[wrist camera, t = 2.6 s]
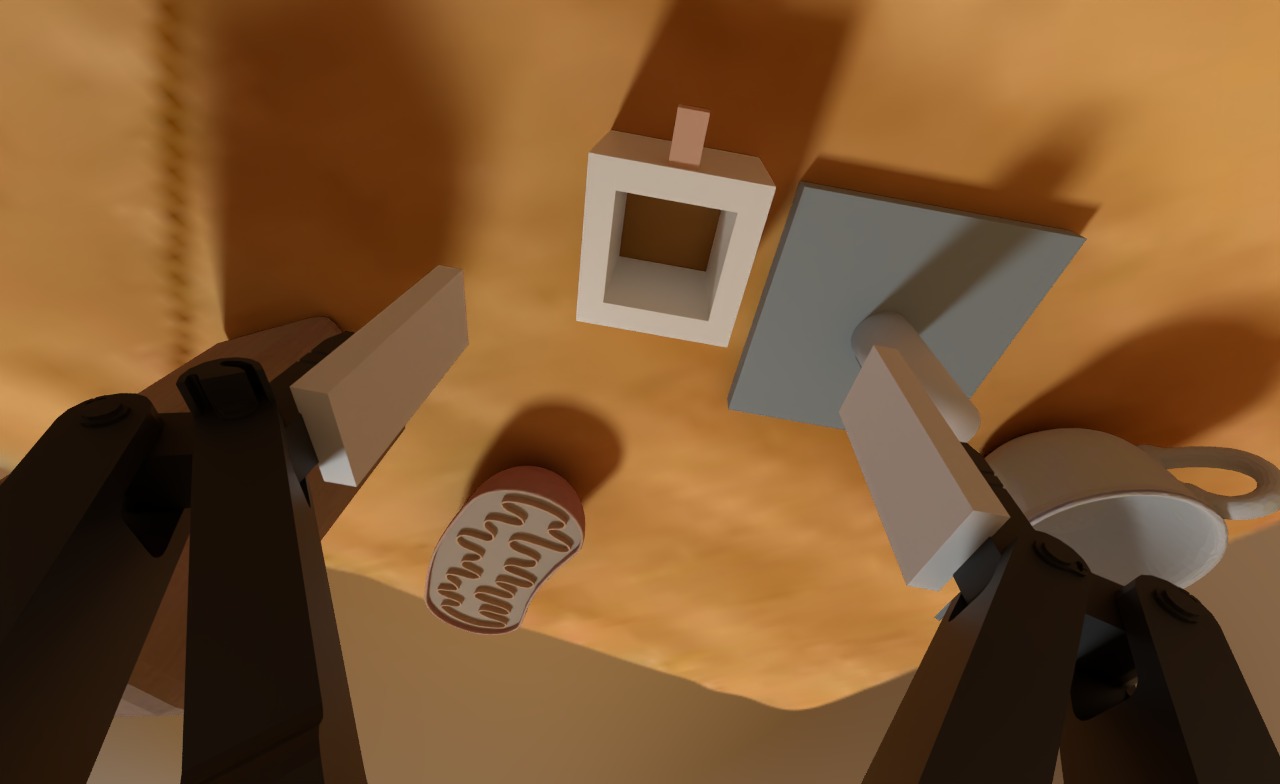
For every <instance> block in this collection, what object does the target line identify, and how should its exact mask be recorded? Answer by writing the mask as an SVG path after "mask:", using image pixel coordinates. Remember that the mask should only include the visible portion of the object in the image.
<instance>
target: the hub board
mask: <svg viewBox="0 0 1280 784" xmlns="http://www.w3.org/2000/svg"><path fill="white" fill-rule="evenodd" d="M1085 241H1086V238H1084V237H1082V236H1080V235H1078V234H1076V233H1074V232H1072V231H1069V230H1063V229H1058V228H1053V227H1047V226H1042V225H1036V224H1031V223H1026V222H1020V221H1015V220H1009V219H1004V218H998V217H993V216H988V215H982V214H977V213H971V212H966V211H961V210H955V209H950V208H944V207H939V206H933V205H928V204H923V203H917V202H912V201H906V200H901V199H895V198H890V197H885V196H879V195H874V194H868V193H863V192H858V191H852V190H847V189H841V188H836V187H830V186H825V185H820V184H814V183H809V182H803V181H800V182H799V185H798V188H797V191H796V194H795V197H794V200H793V203H792V206H791V209H790V212H789V215H788V218H787V221H786V224H785V227H784V230H783V233H782V236H781V239H780V242H779V245H778V248H777V251H776V254H775V257H774V260H773V263H772V266H771V269H770V272H769V275H768V278H767V281H766V284H765V287H764V290H763V293H762V296H761V299H760V302H759V305H758V308H757V311H756V314H755V317H754V320H753V323H752V326H751V329H750V332H749V335H748V338H747V341H746V344H745V347H744V350H743V353H742V356H741V359H740V362H739V365H738V368H737V371H736V374H735V377H734V380H733V383H732V386H731V389H730V392H729V395H728V398H727V400H728V409H729V410H735V411H741V412H746V413H752V414H758V415H763V416H769V417H775V418H780V419H786V420H792V421H797V422H803V423H809V424H814V425H820V426H826V427H832V428H837V429H843V430H846V429H845V427H844V424H843V422H842V419H841V417H840V414H839V410H840V408H841V406H842V404H843V403H844V401H845V399H846V397H847V395H848V393H849V391H850V389H851V387H852V385H853V383H854V381H855V380H856V378H857V376H858V374H859V372H860V370H861V368H862V366H863V364H864V362H865V360H866V358H867V356H868V355H869V353H870V351H871V349H872V347H873V345H877V346H883V347H888V348H894V349H898V351H899V352H900V354H901V355H902V357H903V358H904V360H905V361H906V363H907V364H908V366H909V367H910V369H911V370H912V372H913V373H914V375H915V376H916V378H917V379H918V381H919V382H920V383H921V385H922V386H923V388H924V389H925V391H926V392H927V394H928V395H929V397H930V398H931V400H932V401H933V403H934V404H935V406H936V407H937V409H938V410H939V412H940V413H941V415H942V416H943V418H944V419H945V421H946V422H947V424H948V425H949V427H950V428H951V429H952V431H953V432H954V434H955V435H956V437H957V438H958V440H959V441H960V442H965V443H967V442H968V441H969V440H970V439H971V438H972V437H973V436H974V435H975V434H976V432H977V430H978V428H979V426H980V414H979V412H978V410H977V409H976V408H975V406H974V405H973V404H972V403H971V401H970V400H969V399H970V398H971V396H972V395H973V394H974V392H975V391H976V389H977V388H978V387H979V385H980V384H981V383H982V381H983V380H984V379H985V377H986V376H987V374H988V373H989V372H990V370H991V369H992V368H993V366H994V365H995V363H996V362H997V361H998V359H999V358H1000V357H1001V355H1002V354H1003V353H1004V351H1005V350H1006V348H1007V347H1008V346H1009V344H1010V343H1011V342H1012V340H1013V339H1014V338H1015V336H1016V335H1017V333H1018V332H1019V331H1020V329H1021V328H1022V327H1023V325H1024V324H1025V323H1026V321H1027V320H1028V318H1029V317H1030V316H1031V314H1032V313H1033V312H1034V310H1035V309H1036V308H1037V306H1038V305H1039V303H1040V302H1041V301H1042V299H1043V298H1044V297H1045V295H1046V294H1047V293H1048V291H1049V290H1050V288H1051V287H1052V286H1053V284H1054V283H1055V282H1056V280H1057V279H1058V278H1059V276H1060V275H1061V273H1062V272H1063V271H1064V269H1065V268H1066V267H1067V265H1068V264H1069V263H1070V261H1071V260H1072V258H1073V257H1074V256H1075V254H1076V253H1077V252H1078V250H1079V249H1080V248H1081V246H1082V245H1083V243H1084V242H1085Z"/></svg>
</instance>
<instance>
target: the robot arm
mask: <svg viewBox="0 0 1280 784" xmlns="http://www.w3.org/2000/svg"><path fill="white" fill-rule="evenodd" d="M468 345H469V343H468V331H467V318H466V305H465V293H464V280H463V269H458V268H453V267H447V266H442V265H438V266H437V267H435V268H434V269H433V270H432V271H430V272H429V273H428V274H427V275H426V276H424V277H423V278H422V279H421V280H419V281H418V282H417V283H416V284H415V285H413V286H412V287H411V288H410V289H408V290H407V291H406V292H405V293H404V294H402V295H401V296H400V297H399V298H397V299H396V300H395V301H394V302H393V303H391V304H390V305H389V306H388V307H386V308H385V309H384V310H383V311H382V312H380V313H379V314H378V315H377V316H375V317H374V318H373V319H372V320H371V321H369V322H368V323H367V324H366V325H364V326H363V327H362V328H361V329H360V330H358V331H357V332H356V333H354V332H349V331H345V332H342V333H340V334H337V335H335V336H332V337H330V338H327V339H325V340H324V341H323V342H321V343H320V344H319V345H317V346H316V347H315V348H313V349H312V350H311V353H310V352H308V353H307V354H306V355H304V356H303V357H302V358H300V361H299V362H295V363H294V364H293V365H291V366H290V367H289V368H287V369H286V370H285V371H284V372H282V373H281V374H280V375H278V376H277V377H276V378H274V379H273V380H272V381H271V382H269V381H268V379H267V376H266V374H265V371H264V369H263V367H262V365H261V364H260V363H259V362H257V361H255V360H252V359H249V358H240V357H231V358H220V359H216V360H211V361H207V362H204V363H201V364H199V365H197V366H194V367H192V368H190V369H188V370H187V371H186V372H184V373H183V374H182V375H180V376H179V378H178V380H177V382H176V386H177V388H178V390H179V391H180V393H181V395H182V397H183V399H184V401H185V402H186V404H187V406H188V408H189V410H190V412H180V413H158V412H157V410H156V409H155V407H154V405H153V404H152V402H151V401H150V400H149V399H148V398H147V397H146V396H142V395H139V394H132V393H119V394H113V395H104V396H100V397H96V398H94V399H93V398H92V399H89V400H87V401H84V402H82V403H80V404H78V405H76V406H74V407H72V408H70V409H68V410H67V411H65V412H64V413H63V414H62V415H61V416H59V417H58V418H57V419H56V420H55V421H54V423H53V424H52V425H51V426H50V427H49V428H48V430H47V431H46V432H45V433H44V434H43V436H42V437H41V438H40V439H39V440H38V441H37V443H36V444H35V445H34V446H33V447H32V449H31V450H30V451H29V452H28V453H27V455H26V456H25V457H24V458H23V459H22V460H21V462H20V463H19V464H18V465H17V466H16V468H15V469H14V470H13V471H12V472H11V473H10V475H9V476H8V477H7V478H6V479H5V481H4V482H3V483H2V484H1V485H0V784H86V783H87V780H88V778H89V776H90V773H91V771H92V768H93V766H94V763H95V761H96V759H97V756H98V754H99V751H100V749H101V747H102V744H103V742H104V739H105V737H106V734H107V732H108V729H109V727H110V725H111V722H112V720H113V718H114V715H115V713H116V710H117V708H118V706H119V703H120V701H121V698H122V696H123V693H124V691H125V689H126V686H127V684H128V681H129V679H130V677H131V674H132V672H133V669H134V667H135V664H136V662H137V660H138V657H139V655H140V652H141V650H142V648H143V645H144V643H145V640H146V638H147V635H148V633H149V631H150V628H151V626H152V623H153V621H154V619H155V616H156V614H157V611H158V609H159V606H160V604H161V602H162V599H163V597H164V594H165V592H166V590H167V587H168V585H169V582H170V580H171V577H172V575H173V573H174V570H175V568H176V565H177V563H178V561H179V558H180V556H181V553H182V551H183V548H184V546H185V544H186V541H187V539H188V536H189V534H190V545H189V575H188V604H187V634H186V663H185V693H184V724H183V752H182V755H183V756H182V775H181V783H180V784H368V783H367V780H366V775H365V771H364V766H363V761H362V755H361V750H360V745H359V739H358V734H357V729H356V724H355V718H354V713H353V708H352V703H351V698H350V693H349V688H348V683H347V677H346V672H345V666H344V661H343V656H342V651H341V645H340V641H339V635H338V630H337V625H336V619H335V614H334V609H333V604H332V599H331V593H330V588H329V583H328V578H327V572H326V567H325V562H324V557H323V552H322V546H321V541H320V536H319V531H318V526H317V520H316V515H315V510H314V505H313V499H312V494H311V489H310V485H309V482H308V480H307V477H306V476H307V474H308V473H309V472H310V471H311V470H312V469H313V468H314V467H315V466H316V465H317V464H318V466H319V468H320V471H321V474H322V477H323V479H324V481H326V482H332V483H337V484H343V485H348V486H354V487H357V486H358V485H359V483H360V482H361V481H362V479H363V478H364V477H365V476H366V474H367V473H368V472H369V471H370V469H371V468H372V467H373V465H374V464H375V463H376V462H377V460H378V459H379V458H380V457H381V455H382V454H383V453H384V451H385V450H386V449H387V448H388V446H389V445H390V444H391V443H392V441H393V440H394V439H395V437H396V436H397V435H398V434H399V432H400V431H401V430H402V429H403V427H404V426H405V425H406V423H407V422H408V421H409V420H410V418H411V417H412V416H413V415H414V413H415V412H416V411H417V409H418V408H419V407H420V406H421V404H422V403H423V402H424V401H425V399H426V398H427V397H428V395H429V394H430V393H431V392H432V390H433V389H434V388H435V387H436V385H437V384H438V383H439V381H440V380H441V379H442V378H443V376H444V375H445V374H446V373H447V371H448V370H449V369H450V367H451V366H452V365H453V364H454V362H455V361H456V360H457V359H458V357H459V356H460V355H461V353H462V352H463V351H464V350H465V348H466V347H467V346H468ZM839 414H840V417H841V419H842V422H843V424H844V427H845V429H846V432H847V435H848V437H849V440H850V442H851V445H852V447H853V450H854V452H855V455H856V457H857V460H858V463H859V465H860V468H861V470H862V473H863V475H864V478H865V480H866V483H867V485H868V488H869V491H870V493H871V496H872V498H873V501H874V503H875V506H876V508H877V511H878V513H879V516H880V519H881V521H882V524H883V526H884V529H885V531H886V534H887V536H888V539H889V542H890V544H891V547H892V549H893V552H894V554H895V557H896V559H897V562H898V564H899V567H900V570H901V572H902V575H903V577H904V580H905V582H906V585H907V586H912V587H917V588H923V589H929V590H934V591H939V590H940V589H941V588H942V587H943V586H944V585H945V584H946V583H947V582H948V581H949V580H950V579H951V578H952V577H954V579H955V581H956V583H957V585H958V587H959V589H960V591H961V592H960V593H959V594H958V595H957V596H956V597H955V598H954V599H952V600H951V601H950V602H949V603H948V604H947V605H946V606H945V607H944V608H943V609H942V610H941V611H940V612H939V613H938V614H937V615H936V616H935V618H936V619H938V620H939V621H940V620H941V619H942V618H943V619H942V621H941V623H940V625H939V627H938V629H937V631H936V633H935V635H934V637H933V639H932V641H931V643H930V645H929V647H928V649H927V651H926V653H925V655H924V658H923V660H922V662H921V664H920V666H919V668H918V670H917V672H916V674H915V676H914V678H913V680H912V682H911V684H910V686H909V688H908V690H907V692H906V694H905V696H904V698H903V700H902V702H901V704H900V706H899V708H898V710H897V712H896V714H895V716H894V719H893V720H892V722H891V724H890V727H889V728H888V730H887V733H886V734H885V737H884V738H883V741H882V743H881V745H880V747H879V749H878V751H877V753H876V755H875V757H874V759H873V761H872V763H871V765H870V767H869V769H868V771H867V773H866V775H865V777H864V779H863V781H862V783H861V784H1052V781H1053V776H1054V771H1055V766H1056V761H1057V756H1058V750H1059V747H1060V755H1061V764H1062V772H1063V779H1064V784H1280V756H1279V753H1278V751H1277V749H1276V747H1275V745H1274V743H1273V740H1272V738H1271V736H1270V734H1269V732H1268V730H1267V727H1266V725H1265V723H1264V721H1263V719H1262V716H1261V714H1260V712H1259V710H1258V708H1257V706H1256V704H1255V701H1254V699H1253V697H1252V695H1251V693H1250V690H1249V688H1248V686H1247V684H1246V682H1245V679H1244V677H1243V675H1242V673H1241V671H1240V669H1239V666H1238V664H1237V662H1236V660H1235V658H1234V655H1233V654H1232V651H1231V649H1230V647H1229V645H1228V643H1227V640H1226V638H1225V636H1224V634H1223V631H1222V629H1221V627H1220V626H1219V624H1218V622H1217V621H1216V619H1215V618H1214V616H1213V615H1212V614H1211V613H1210V612H1209V611H1208V610H1207V609H1206V608H1205V607H1204V606H1203V605H1202V604H1201V602H1200V601H1199V600H1198V599H1197V598H1195V597H1194V596H1193V595H1190V594H1189V592H1187V591H1186V590H1184V589H1182V588H1181V587H1178V586H1176V585H1174V584H1172V583H1171V582H1169V581H1167V580H1164V579H1161V578H1158V577H1156V576H1153V575H1140V576H1138V577H1137V578H1135V579H1134V580H1132V581H1131V582H1130V583H1128V584H1127V585H1125V586H1123V585H1121V584H1118V583H1116V582H1113V581H1111V580H1108V579H1106V578H1103V577H1101V576H1099V575H1096V574H1094V573H1091V570H1090V568H1089V567H1088V565H1087V564H1086V562H1085V561H1084V559H1083V558H1082V557H1081V556H1080V555H1079V554H1078V553H1077V552H1076V551H1075V550H1074V549H1072V548H1071V547H1070V546H1068V545H1067V544H1065V543H1064V542H1062V541H1061V540H1060V539H1058V538H1056V537H1054V536H1051V535H1049V534H1047V533H1045V532H1041V531H1037V530H1035V529H1034V528H1033V526H1032V525H1031V524H1030V522H1029V521H1028V519H1027V518H1026V517H1025V515H1024V514H1023V512H1022V511H1021V509H1020V508H1019V507H1018V505H1017V504H1016V502H1015V501H1014V500H1013V498H1012V497H1011V495H1010V494H1009V493H1008V491H1007V490H1006V489H1005V488H1003V486H1004V485H1003V484H1002V483H1001V481H1000V480H999V478H998V477H997V476H994V471H993V470H992V468H991V467H990V466H989V464H988V463H987V461H986V460H985V459H984V457H983V456H981V455H980V454H979V453H978V452H977V451H976V450H974V449H973V448H972V447H971V446H970V445H969V444H968V443H965V442H960V441H959V440H958V438H957V437H956V435H955V434H954V432H953V431H952V429H951V428H950V427H949V425H948V424H947V422H946V421H945V419H944V418H943V416H942V415H941V413H940V412H939V410H938V409H937V407H936V406H935V404H934V403H933V401H932V400H931V398H930V397H929V395H928V394H927V392H926V391H925V389H924V388H923V386H922V385H921V383H920V382H919V381H918V379H917V378H916V376H915V375H914V373H913V372H912V370H911V369H910V367H909V366H908V364H907V363H906V361H905V360H904V358H903V357H902V355H901V354H900V352H899V351H898V349H894V348H888V347H883V346H877V345H873V347H872V349H871V351H870V353H869V355H868V356H867V358H866V360H865V362H864V364H863V366H862V368H861V370H860V372H859V374H858V376H857V378H856V380H855V381H854V383H853V385H852V387H851V389H850V391H849V393H848V395H847V397H846V399H845V401H844V403H843V404H842V406H841V408H840V410H839ZM1135 684H1137V687H1135Z"/></svg>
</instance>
